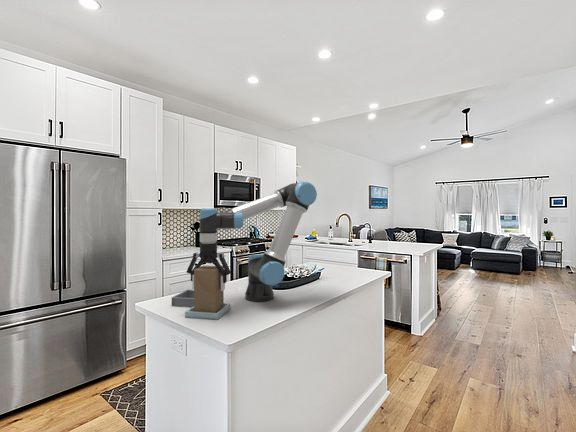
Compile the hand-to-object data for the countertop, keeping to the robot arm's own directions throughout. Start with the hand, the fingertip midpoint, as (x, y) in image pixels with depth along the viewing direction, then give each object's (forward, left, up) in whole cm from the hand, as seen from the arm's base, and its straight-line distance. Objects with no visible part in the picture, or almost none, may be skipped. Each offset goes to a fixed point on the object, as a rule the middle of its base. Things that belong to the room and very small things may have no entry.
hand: (208, 289), depth 140 cm
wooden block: (0, 0, -10) cm, 10 cm away
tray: (0, 0, -11) cm, 11 cm away
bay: (+15, -14, -11) cm, 23 cm away
